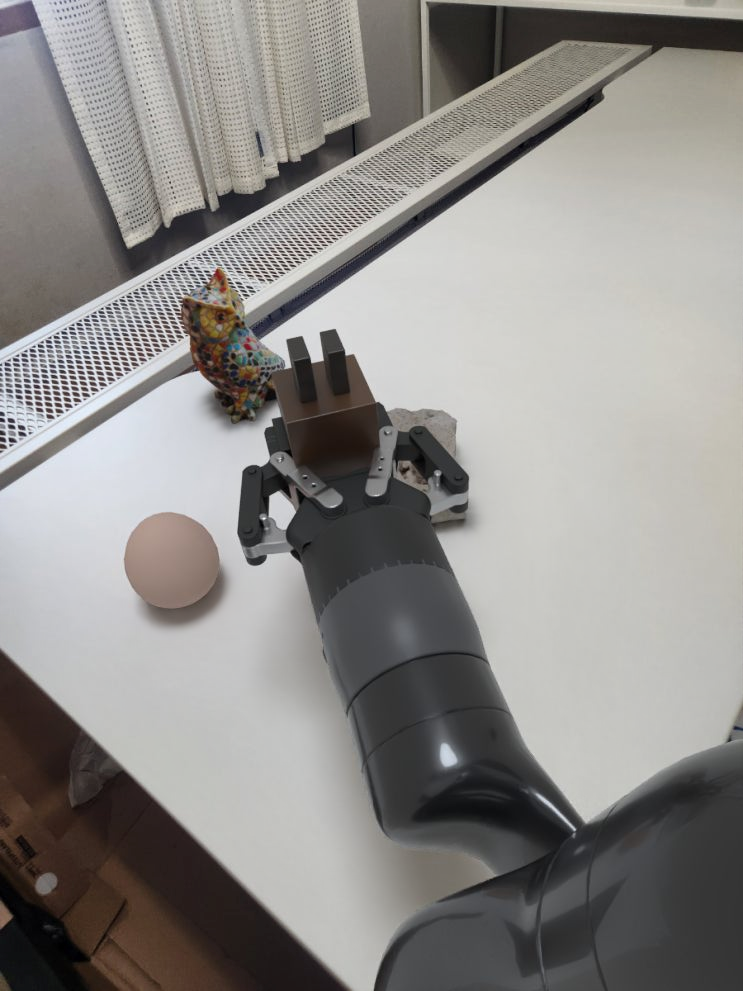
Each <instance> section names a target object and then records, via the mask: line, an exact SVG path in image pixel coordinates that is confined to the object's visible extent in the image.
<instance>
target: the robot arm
mask: <svg viewBox="0 0 743 991" xmlns="http://www.w3.org/2000/svg"><path fill="white" fill-rule="evenodd" d="M376 404H377V415H378V426H379V437H380V444H378V445H376V448H374V450H373V455H372V461H371V466H370V469H369V467H365V468H361V469H357V470H355V471H353V472H350V473H348V474H346V475H338V476H329V477H325V478H321V479H320V478H319V477H318V476H317V475H316V474H315V473H314V472H312V471H311V470H310V469H309V468H308V467H307V466H306V465H303V466H300V465H299V464H295V463H294V460H293V458H292V454H291V449H290V446H289V442H288V439H287V435H286V432H285V428H284V425H283V421H282V418H281V416H278V417H273V418H271V424H272V426H268V427H265V429H264V432H263V435H264V439H265V443H266V447H267V451H268V456H269V460H268V461H267V462H266V463H264V464H263V465H258V464H251V465H248V466H245V467H244V469H243V470H242V473H241V484H240V494H239V506H238V518H237V520H238V521H237V529H236V533H237V537H238V540H239V544H240V547H241V549H242V552H243V554H244V557H245V561H246V563H247V564H248V565H249V566H251V567H257V566H261V565H263V564H264V563H265V562H266V560H267V559H268V555H277V554H286V553H290V554H291V556H292V557H293V558H294V559H295V560H296V561H298V562H299V563H300V565H301V567H302V570H303V573H304V578H305V582H306V586H307V590H308V594H309V598H310V601H311V605H312V609H313V613H314V618H315V622H316V625H317V629H318V633H319V637H320V641H321V644H322V649H321V650H322V656H323V659H324V661H325V663H326V665H327V668H328V672H329V675H330V678H331V681H332V685H333V686H334V689H335V692H336V693H337V696H338V698H339V701H340V702H341V706H342V708H343V710H344V714H345V716H346V719H347V724H348V727H349V731H350V735H351V737H352V742H353V746H354V747H353V748H354V750H355V754H356V758H357V762H358V765H359V766H358V767H359V770H360V773H361V777H362V781H363V785H364V789H365V793H366V796H367V800H368V803H369V807H370V809H371V810H370V811H371V813H372V815H373V818H374V821H375V823H376V825H377V827H378V829H379V831H380V832H381V834H382V835H383V837H384V838H386V839H387V841H389V842H391V843H393V844H394V845H396V846H398V847H400V848H404V849H408V850H416V851H424V852H425V851H428V852H441V853H454V854H462V855H466V856H469V857H472V858H475V859H477V860H479V861H481V862H482V863H483V864H484V865H485V866H487V867H488V869H490V870H491V872H492V873H493V874H495V876H494V877H491V878H489V879H486V880H484V881H483V880H482V881H480V882H478V883H476V884H473V885H471V886H469V887H466V888H463V889H461V890H459V891H458V890H457V891H455V892H453V893H450V894H448V895H445V896H444V897H442V898H439V899H437V900H435V901H432V902H431V903H429V904H426V905H424V906H423V907H421V908H419V909H417V910H416V911H414V912H413V913H411V914H410V915H409V916H407V917H406V918H405V919H404V920H403V921H402V922H401V924H400V925H399V926H398V927H397V929H395V931H394V932H393V934H392V935H391V937H390V939H389V941H388V943H387V944H386V947H385V949H384V950H383V953H382V956H381V958H380V962H379V964H378V967H377V971H376V974H375V979H374V984H373V990H372V991H743V738H738V739H734V740H731V741H729V742H724V743H721V744H719V745H718V744H717V745H716V746H712V747H709V748H707V749H704V750H701V751H699V752H696V753H692V754H691V755H688V756H685V757H683V758H682V759H679V760H678V761H676V762H674V763H672V764H670V765H668V766H666V767H664V768H663V769H661V770H659V771H658V772H656V773H654V775H652V776H650V777H649V778H648V779H646V780H645V781H643V782H642V783H640V784H639V785H637V786H636V787H635V788H633V789H631V790H630V791H629V792H628V793H627V794H625V795H623V796H622V797H620V798H619V799H618V800H616V801H615V802H614V803H612V804H611V805H609V806H607V808H605V809H603V810H602V811H601V812H599V813H597V815H595V816H594V817H592V818H590V819H589V820H588V821H585V820H584V819H583V817H582V816H581V814H580V813H579V812H578V811H577V810H576V808H575V807H574V806H573V804H572V803H571V802H570V800H569V799H568V798H567V796H566V795H565V794H564V792H563V791H562V790H561V788H560V787H559V786H558V785H557V784H556V782H555V781H554V780H553V779H552V777H551V776H550V775H549V773H548V772H547V771H546V770H545V769H544V767H543V766H542V765H541V764H540V762H539V761H538V760H537V759H536V757H535V756H534V755H533V754H532V752H531V750H530V749H529V747H528V745H527V744H526V742H525V741H524V739H523V736H522V734H521V731H520V729H519V726H518V724H517V722H516V720H515V718H514V715H513V713H512V711H511V709H510V706H509V705H508V702H507V700H506V698H505V696H504V694H503V691H502V689H501V687H500V684H499V682H498V680H497V677H496V676H495V673H494V672H493V669H492V667H491V664H490V661H489V659H488V657H487V653H486V652H487V651H486V649H485V645H484V641H483V638H482V635H481V631H480V629H479V626H478V623H477V621H476V618H475V616H474V614H473V611H472V609H471V608H470V605H469V603H468V600H467V599H466V596H465V594H464V592H463V589H462V588H461V585H460V583H459V581H458V579H457V577H456V575H455V572H454V570H453V568H452V566H451V563H450V561H449V559H448V557H447V555H446V552H445V549H444V548H443V546H442V544H441V542H440V539H439V536H438V535H437V533H436V531H435V529H434V526H433V523H431V519H432V516H431V515H434V514H436V513H438V512H441V511H443V510H445V509H449V510H450V511H451V512H453V513H463V512H465V511H466V512H467V510H468V509H469V489H470V475H469V474H468V473H467V472H466V471H465V470H464V469H463V467H462V466H461V465H460V464H459V462H458V461H457V460H456V461H455V460H454V458H453V457H452V456H451V455H450V454H449V453H448V452H447V451H446V449H445V448H444V447H443V446H442V445H441V444H440V443H439V442H438V440H437V439H436V438H435V437H434V436H433V435H432V434H431V433H430V431H429V430H428V429H427V428H426V427H424V426H414V427H412V428H411V429H410V430H409V432H401V431H398V430H397V429H396V428H395V427H393V425H392V423H391V420H390V418H389V416H388V414H387V410H386V408H385V405H384V404H382V403H381V402H380V401H376ZM399 461H411V463H412V465H413V466H414V467H415V468H416V469H417V471H418V472H419V473H420V474H421V476H422V477H423V478H424V479H425V480H426V482H427V483H428V493H427V494H425V493H424V492H422V491H420V490H418V489H416V488H414V487H412V486H410V485H408V484H406V483H404V482H402V481H400V480H398V479H397V474H398V468H399ZM278 492H279V493H280V494H281V495H282V496H283V497H284V498H285V499H286V500H287V501H288V502H289V503H290V504H291V505H292V507H293V509H294V511H295V513H294V515H293V517H292V518H291V520H290V522H289V523H288V525H287V526H286V529H281V528H280V527H278V525H277V521H276V520H275V519H274V518H273V517H270V498H271V496H272V495H274V494H276V493H278Z"/></svg>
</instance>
